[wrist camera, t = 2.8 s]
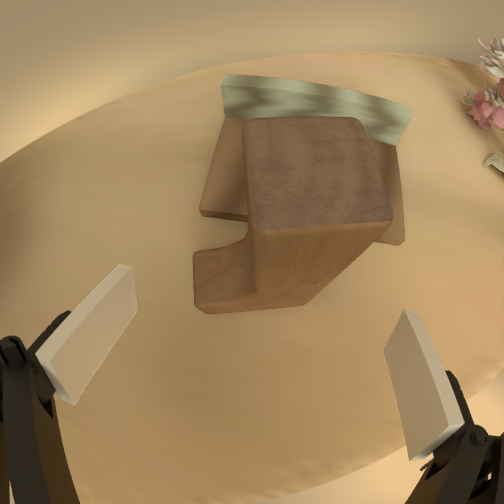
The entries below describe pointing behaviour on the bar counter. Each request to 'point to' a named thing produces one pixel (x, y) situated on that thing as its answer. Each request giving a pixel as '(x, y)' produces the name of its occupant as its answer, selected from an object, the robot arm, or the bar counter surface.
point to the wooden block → (296, 214)
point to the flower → (490, 97)
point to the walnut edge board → (235, 188)
